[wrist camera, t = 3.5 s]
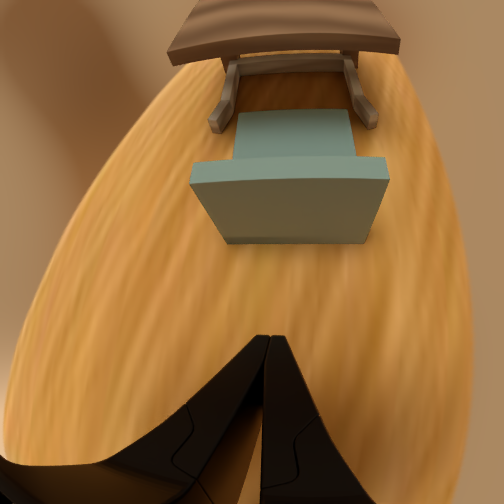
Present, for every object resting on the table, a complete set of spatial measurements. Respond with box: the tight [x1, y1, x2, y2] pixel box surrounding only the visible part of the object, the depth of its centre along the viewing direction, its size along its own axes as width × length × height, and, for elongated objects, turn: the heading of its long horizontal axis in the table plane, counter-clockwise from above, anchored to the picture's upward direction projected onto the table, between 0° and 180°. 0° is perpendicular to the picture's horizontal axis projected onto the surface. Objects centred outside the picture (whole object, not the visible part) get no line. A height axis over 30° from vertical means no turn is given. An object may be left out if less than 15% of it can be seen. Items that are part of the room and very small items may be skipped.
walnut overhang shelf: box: [167, 0, 400, 134], centre depth 24 cm, size 16×17×12 cm
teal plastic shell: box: [189, 109, 390, 244], centre depth 22 cm, size 14×11×9 cm
